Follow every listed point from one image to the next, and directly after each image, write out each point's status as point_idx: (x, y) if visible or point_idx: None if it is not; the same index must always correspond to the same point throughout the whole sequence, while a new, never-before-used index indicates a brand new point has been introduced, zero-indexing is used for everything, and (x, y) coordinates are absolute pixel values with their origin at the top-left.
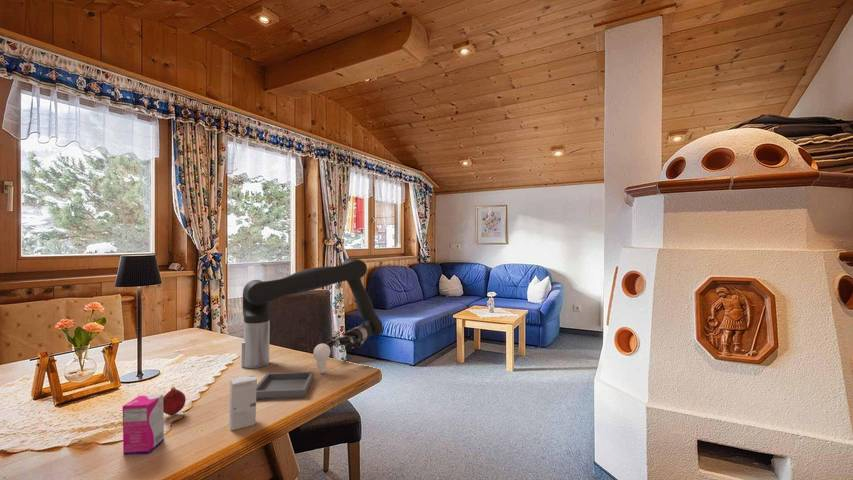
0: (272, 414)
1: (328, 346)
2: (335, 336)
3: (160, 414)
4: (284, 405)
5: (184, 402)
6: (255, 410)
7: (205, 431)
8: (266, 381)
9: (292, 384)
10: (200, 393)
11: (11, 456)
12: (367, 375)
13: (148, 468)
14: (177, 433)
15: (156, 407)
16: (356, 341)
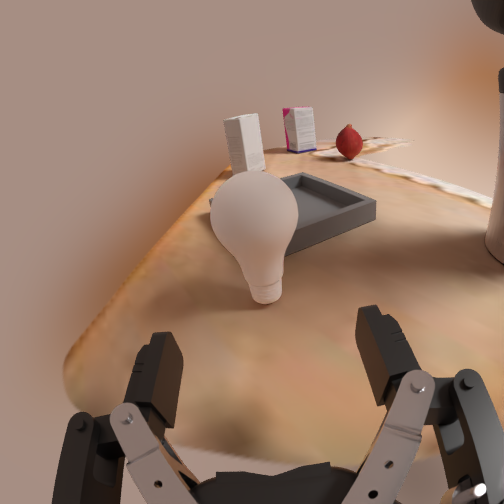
0: None
1: (217, 197)
2: (500, 496)
3: (292, 125)
4: None
5: (339, 145)
6: (230, 159)
7: (277, 162)
8: (349, 204)
9: None
10: (401, 176)
11: (371, 137)
12: (84, 342)
13: (266, 150)
14: (300, 156)
15: (288, 116)
16: (89, 438)
